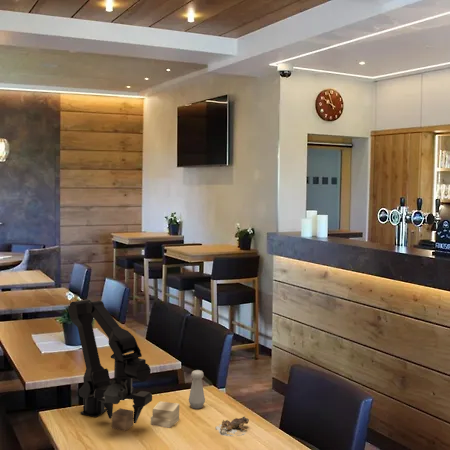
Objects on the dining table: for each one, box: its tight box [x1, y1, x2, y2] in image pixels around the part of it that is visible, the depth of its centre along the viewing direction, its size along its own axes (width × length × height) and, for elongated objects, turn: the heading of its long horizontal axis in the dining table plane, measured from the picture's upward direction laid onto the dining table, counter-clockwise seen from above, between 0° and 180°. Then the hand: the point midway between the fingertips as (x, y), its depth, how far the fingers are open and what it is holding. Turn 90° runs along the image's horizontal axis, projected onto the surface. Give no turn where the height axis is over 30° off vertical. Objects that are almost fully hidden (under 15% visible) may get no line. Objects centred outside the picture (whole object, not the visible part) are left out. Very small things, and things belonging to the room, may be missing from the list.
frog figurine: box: [215, 416, 250, 437], centre depth 200 cm, size 12×12×4 cm
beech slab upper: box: [152, 401, 180, 420], centre depth 203 cm, size 7×7×3 cm
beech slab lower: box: [150, 412, 180, 429], centre depth 203 cm, size 7×7×3 cm
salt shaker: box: [188, 369, 206, 410], centre depth 217 cm, size 6×6×13 cm
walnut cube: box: [111, 408, 134, 432], centre depth 199 cm, size 5×5×5 cm
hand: (122, 420), depth 199 cm, fingers open, 9 cm apart
